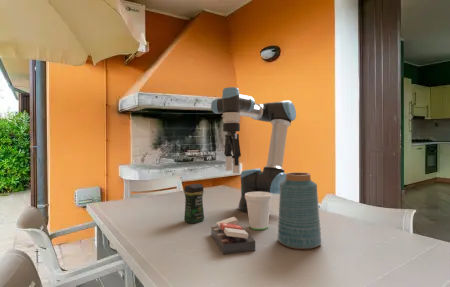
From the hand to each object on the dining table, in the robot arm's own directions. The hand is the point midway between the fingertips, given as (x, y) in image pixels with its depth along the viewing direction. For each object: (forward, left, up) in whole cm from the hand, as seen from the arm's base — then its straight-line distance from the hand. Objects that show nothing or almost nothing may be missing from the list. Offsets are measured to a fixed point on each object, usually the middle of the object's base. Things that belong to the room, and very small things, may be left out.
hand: (232, 171), depth 121 cm
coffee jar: (+15, -19, -26) cm, 36 cm away
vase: (-20, +22, -26) cm, 40 cm away
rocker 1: (+5, +8, -20) cm, 22 cm away
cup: (-12, 0, -26) cm, 29 cm away
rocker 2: (+5, +14, -20) cm, 25 cm away
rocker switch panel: (+5, +11, -26) cm, 29 cm away
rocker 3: (+5, +21, -20) cm, 29 cm away
